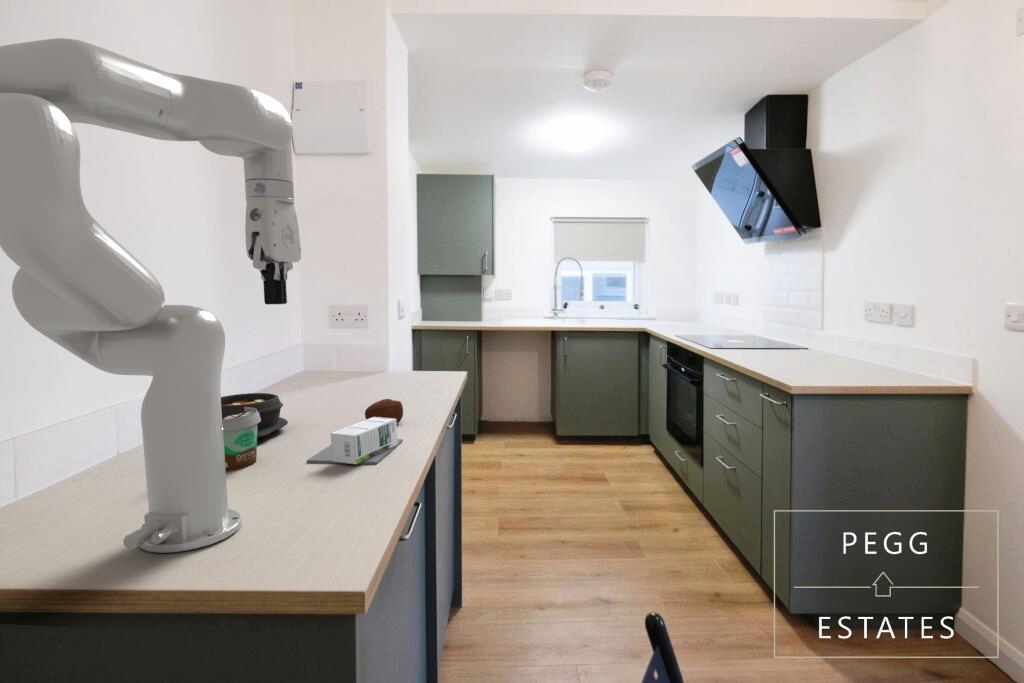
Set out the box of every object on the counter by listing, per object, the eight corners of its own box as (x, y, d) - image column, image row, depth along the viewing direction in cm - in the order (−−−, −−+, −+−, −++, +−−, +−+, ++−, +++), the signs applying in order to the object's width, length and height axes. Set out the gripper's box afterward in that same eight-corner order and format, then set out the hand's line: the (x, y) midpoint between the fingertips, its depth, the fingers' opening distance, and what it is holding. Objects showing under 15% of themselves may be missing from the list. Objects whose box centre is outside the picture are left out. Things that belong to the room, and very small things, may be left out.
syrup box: (354, 435, 108) (398, 418, 121) (328, 432, 110) (375, 416, 124) (355, 465, 108) (399, 444, 122) (330, 461, 111) (376, 442, 124)
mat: (376, 464, 110) (376, 461, 110) (307, 462, 112) (306, 460, 112) (402, 441, 126) (402, 439, 126) (341, 440, 128) (341, 438, 128)
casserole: (285, 444, 126) (283, 406, 125) (189, 453, 120) (186, 413, 119) (290, 419, 150) (289, 387, 149) (210, 425, 144) (208, 392, 143)
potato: (406, 426, 139) (405, 400, 139) (366, 430, 136) (365, 403, 136) (401, 420, 146) (400, 395, 145) (363, 424, 143) (362, 398, 142)
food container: (235, 476, 105) (232, 421, 104) (206, 474, 106) (202, 420, 105) (276, 456, 117) (273, 407, 116) (249, 454, 118) (246, 406, 117)
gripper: (266, 186, 89) (273, 305, 91) (312, 200, 104) (316, 302, 106) (221, 187, 90) (228, 305, 92) (272, 201, 105) (278, 303, 107)
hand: (275, 303), depth 99 cm, fingers closed
